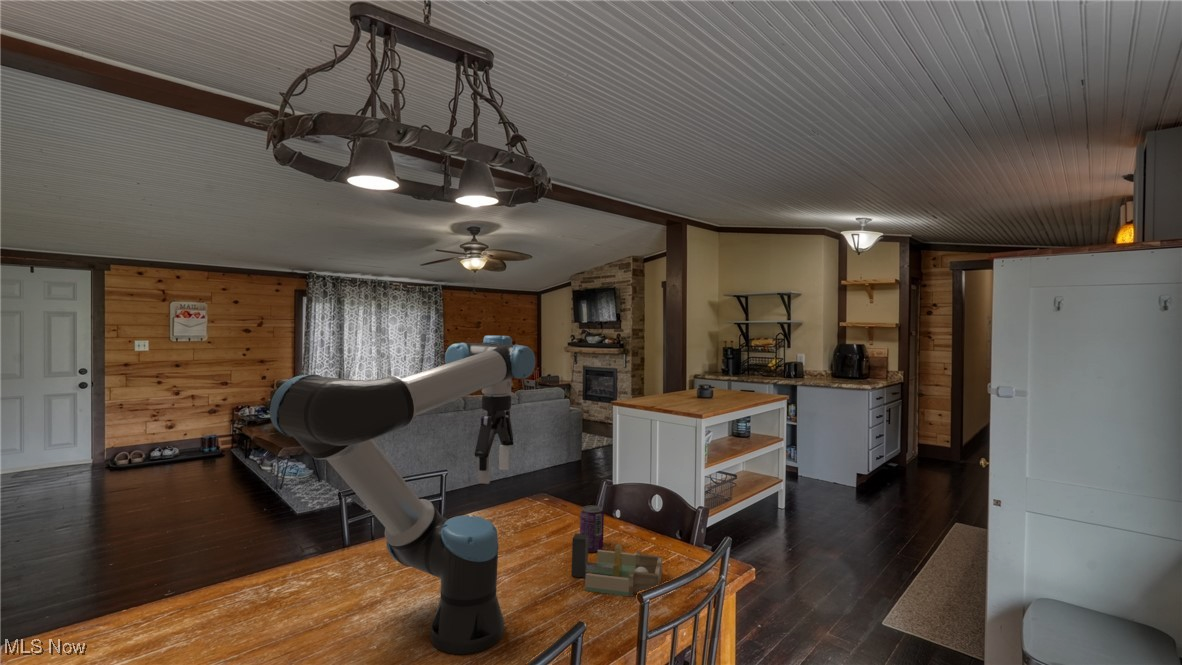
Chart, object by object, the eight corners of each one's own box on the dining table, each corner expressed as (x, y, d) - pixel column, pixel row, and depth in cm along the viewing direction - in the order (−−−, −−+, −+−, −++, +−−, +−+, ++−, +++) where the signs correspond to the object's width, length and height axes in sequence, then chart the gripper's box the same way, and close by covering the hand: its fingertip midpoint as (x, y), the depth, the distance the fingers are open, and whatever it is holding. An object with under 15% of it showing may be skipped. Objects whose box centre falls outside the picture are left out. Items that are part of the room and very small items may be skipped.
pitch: (628, 596, 131) (629, 580, 131) (585, 590, 133) (585, 574, 133) (636, 568, 147) (637, 554, 147) (597, 564, 149) (598, 549, 149)
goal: (657, 600, 129) (657, 579, 129) (628, 596, 131) (629, 576, 131) (662, 571, 145) (662, 553, 145) (636, 568, 147) (637, 550, 147)
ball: (631, 571, 137) (634, 587, 137) (646, 569, 136) (649, 585, 136) (633, 565, 141) (636, 580, 141) (648, 563, 140) (651, 578, 140)
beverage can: (603, 544, 163) (604, 505, 163) (602, 554, 156) (603, 513, 156) (580, 543, 163) (581, 504, 163) (578, 552, 156) (579, 511, 156)
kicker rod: (618, 584, 137) (619, 545, 137) (570, 578, 139) (571, 539, 139) (622, 574, 142) (622, 536, 142) (575, 568, 145) (576, 531, 145)
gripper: (491, 400, 126) (488, 490, 126) (526, 390, 150) (524, 465, 150) (461, 399, 127) (459, 487, 127) (501, 389, 152) (499, 463, 152)
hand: (494, 476), depth 139 cm, fingers open, 13 cm apart
